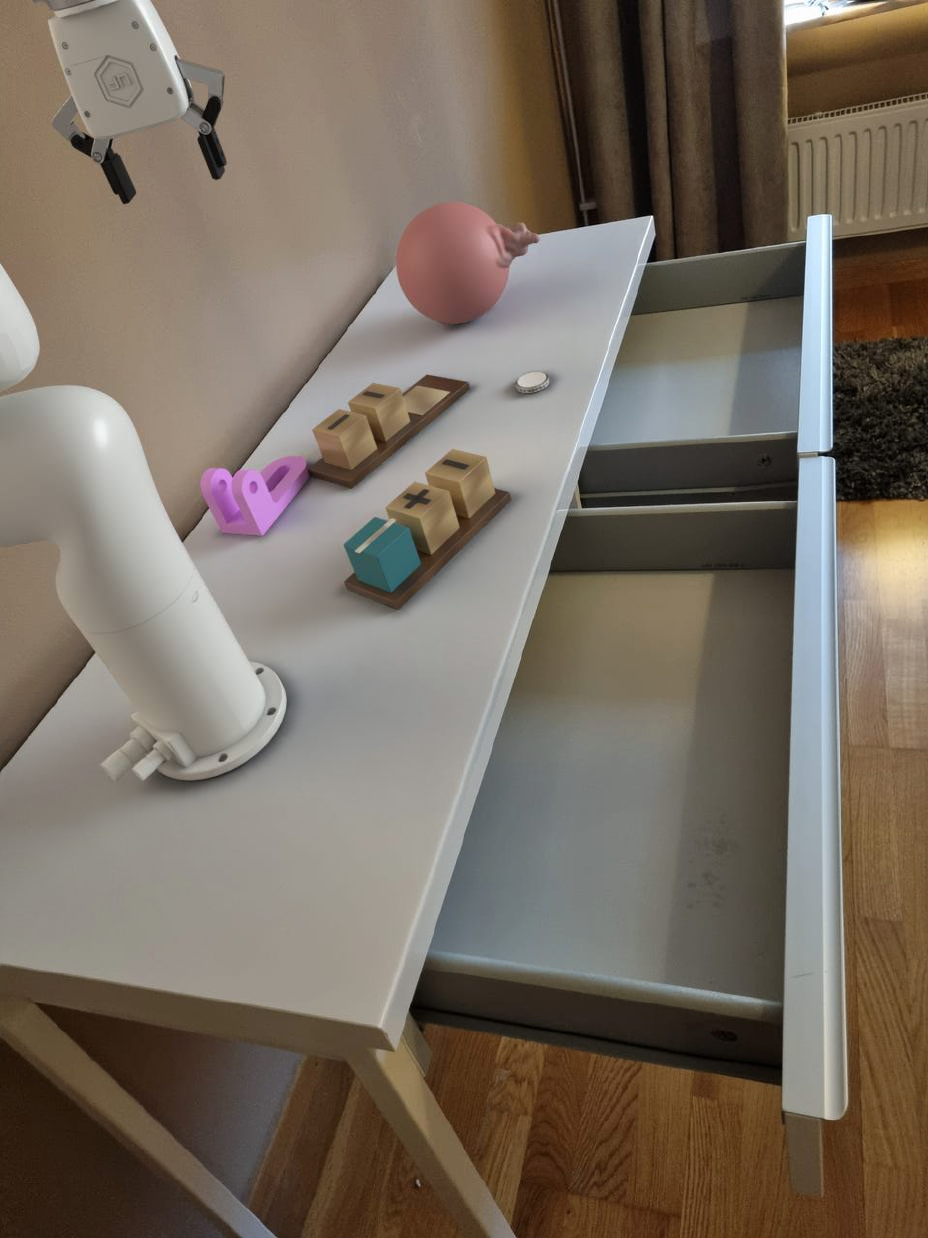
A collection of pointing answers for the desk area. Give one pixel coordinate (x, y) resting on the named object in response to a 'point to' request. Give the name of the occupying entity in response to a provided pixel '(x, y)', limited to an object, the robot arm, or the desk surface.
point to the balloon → (457, 261)
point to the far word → (378, 426)
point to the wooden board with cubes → (439, 519)
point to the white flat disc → (532, 382)
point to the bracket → (253, 494)
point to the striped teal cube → (382, 554)
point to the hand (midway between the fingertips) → (174, 187)
